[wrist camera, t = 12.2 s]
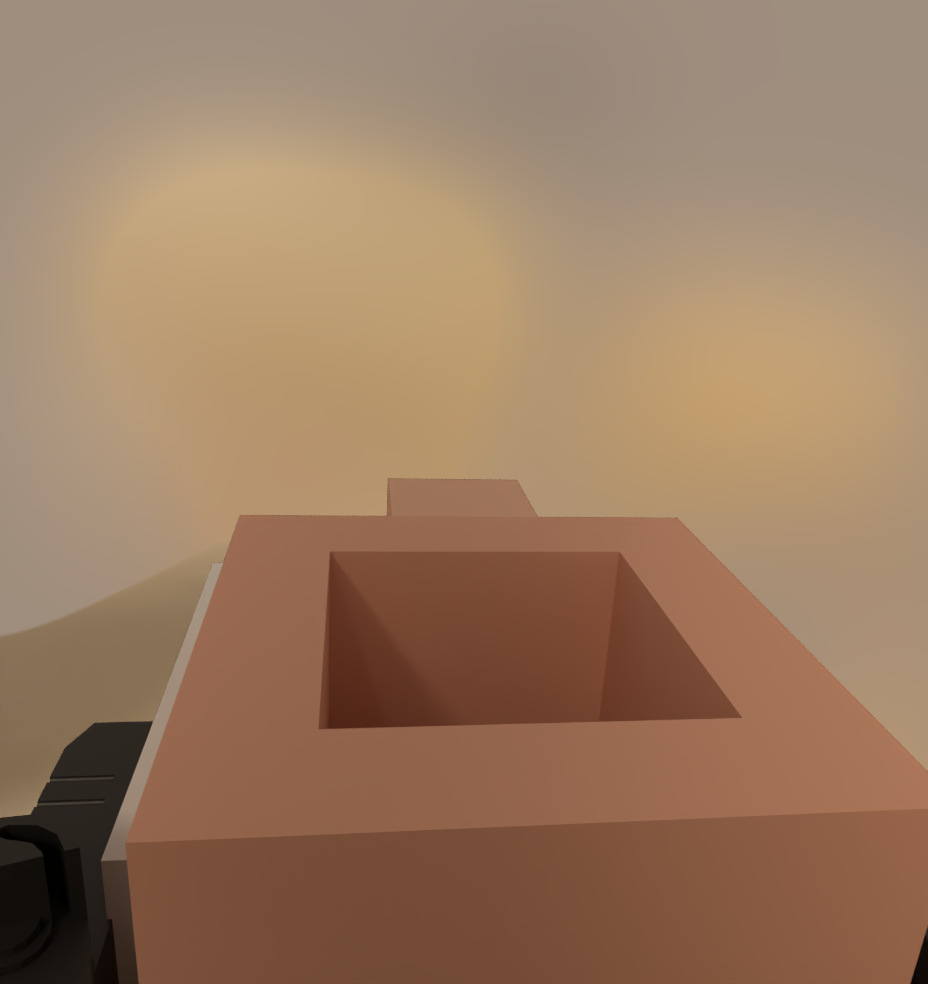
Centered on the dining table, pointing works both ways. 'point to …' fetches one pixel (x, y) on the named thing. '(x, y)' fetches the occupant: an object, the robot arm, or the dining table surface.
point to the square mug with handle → (515, 767)
